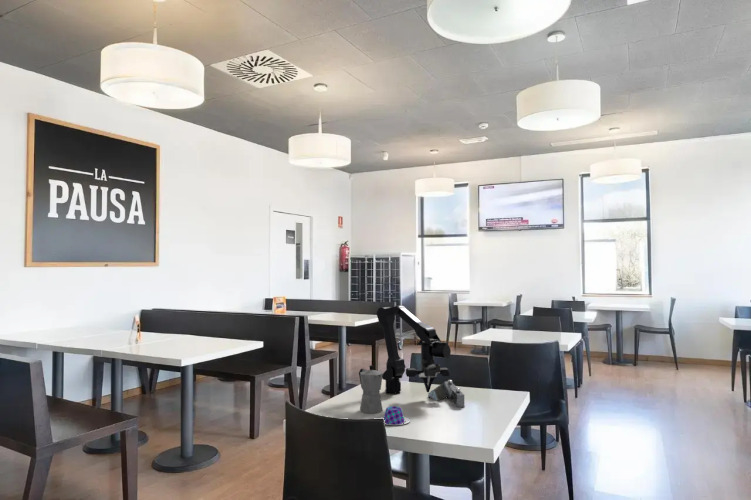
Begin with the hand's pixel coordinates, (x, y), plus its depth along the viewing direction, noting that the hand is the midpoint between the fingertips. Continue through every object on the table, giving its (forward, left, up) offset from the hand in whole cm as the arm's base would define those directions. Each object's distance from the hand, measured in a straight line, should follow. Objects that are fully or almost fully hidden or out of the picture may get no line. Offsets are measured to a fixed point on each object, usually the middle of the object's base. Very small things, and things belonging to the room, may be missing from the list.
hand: (427, 392), depth 219 cm
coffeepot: (-26, -16, -3) cm, 31 cm away
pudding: (-18, -32, -4) cm, 37 cm away
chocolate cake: (+4, +4, -4) cm, 7 cm away
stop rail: (+11, -1, -3) cm, 12 cm away
